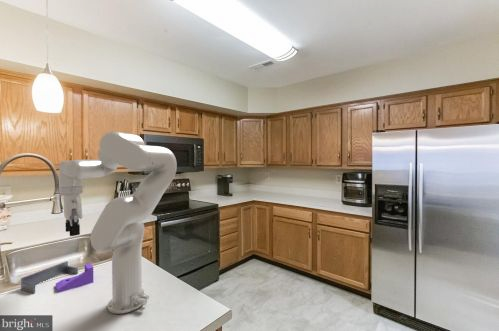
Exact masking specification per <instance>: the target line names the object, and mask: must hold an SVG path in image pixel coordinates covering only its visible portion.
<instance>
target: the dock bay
mask: <svg viewBox="0 0 499 331" xmlns="http://www.w3.org/2000/svg"><path fill="white" fill-rule="evenodd" d="M65 272H66V273H68V272H70V273H69V274H73V275H79V268H78V267H75V266H72V265H71V266H70V265H69V261H64V262H60V263H59V264H56V265H52V266H49V267H48V268H44V269H43V270H39V271H37V272H35V273H30V274H28V275H25V276H23V277H21V278H20V290H21V291H22V292H25V293H29V294H32V295H34V294H36V286H38V285H40V284H41V283H40V282H42V283H44V282H43V281H45V282H47V281H49V280H51V279H50V278H52V279H54V278H56V277H58V276H57V275H59V276H61V275H62V274H66V273H65ZM60 274H61V275H60ZM55 276H56V277H55ZM53 277H54V278H53ZM48 279H49V280H48ZM46 280H47V281H46ZM39 283H40V284H39ZM37 284H38V285H37Z"/></svg>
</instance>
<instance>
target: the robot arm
mask: <svg viewBox="0 0 499 331" xmlns="http://www.w3.org/2000/svg"><path fill="white" fill-rule="evenodd" d="M97 157H98V159H72V160H61V161H60V162H59V164H58V165H59V166H58V174H59V175H58V178H59V196H62V198H63V214H64V218H65V232H67V233H69V237H76V236H80V235H81V228H80V227H81V225H80V220H79V219H82V218H83V208H82V205H83V204H82V197H81V195H83V194H84V190H83V188H84V187H83V185H84V184H83V182H84V181H83V179H84V180H85V179H99V178H103V177H106V176H108V175H111V174H113V173H115V172H116V170H117V169H118V167H119V166H121V167H124V168H125V169H127V170H129V171H133V172H150V173H149V174H148V175H146V176H145V177H144V178H143V179H142V180H141V181H140V183H139V185H138V186H137V188H136V189H135V191H134V192H133V193H132V194H128V195H124V196H123V195H122V196H118V197H115V198H113V199H111V200H110V201H109V202H108V203H107V204H106V205H105V207H104V208H103V210H102V212H101V213H100V215H99V217H98V218H97V220H96V222H95V224H94V226H93V228H92V230H91V233H90V237H89V238H90V245H91V247H92V249H94V250H95V251H97V252H100V253H106V252H109V251H112V250H113V254H112V257H111V258H112V259H111V267H112V268H111V270H112V271H111V278H112V279H111V280H112V281H111V284H112V286H111V288H112V293H111V294H112V295H111V296H112V298H111V299H110V300H109V301H108V302H107V306H106V307H107V311H108V312H110V313H112V314H116V315H117V314H118V315H119V314H127V313H130V312H132V311H135V310H138V309H139V308H141V307H142V306H146V304H147V303H148V300H149V299H150V296H149V295H147V294H146V293H145V290H144V289H143V288H142V287H143V286H142V282H143V281H142V276H143V275H142V256H143V255H142V254H143V253H142V252H143V251H142V249H143V248H142V247H143V240H144V235H145V224H144V221H146V220H147V219H149V217H150V216H151V215H152V213H153V212H154V211H155V208H156V207H157V205H158V204H159V202H160V200H161V199H162V198H163V197H162V196H164V193H165V192H166V191H167V189H168V188H169V187H170V185H171V183H172V182H173V180H174V178H175V176H176V173H177V168H178V167H177V166H178V165H177V164H178V163H177V159H176V156H175V154H174V153H173V152H172V151H171V150H170V149H169V148H167V147H164V146H160V145H159V146H158V145H148V144H145V141H144V140H143V139H142V138H141V137H140V136H139V135H137V134H134V133H127V132H120V131H109V132H106V133H105V134H103V136H102V137H101V138H100V141H99V149H98V151H97Z"/></svg>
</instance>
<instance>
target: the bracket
mask: <svg viewBox="0 0 499 331" xmlns="http://www.w3.org/2000/svg"><path fill="white" fill-rule="evenodd" d="M92 283H94V265H92V263H87V264H84V271H83V272H81V273H79V274H77V275H75V276H71V277H67V278H64V279H61V280H59V281H58V282H56V283H55V288H56V293H57V294H58V293H59V294H60V293H62V292H65V291H69V290H72V289H75V288H79V287H83V286H86V285H90V284H92Z"/></svg>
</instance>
